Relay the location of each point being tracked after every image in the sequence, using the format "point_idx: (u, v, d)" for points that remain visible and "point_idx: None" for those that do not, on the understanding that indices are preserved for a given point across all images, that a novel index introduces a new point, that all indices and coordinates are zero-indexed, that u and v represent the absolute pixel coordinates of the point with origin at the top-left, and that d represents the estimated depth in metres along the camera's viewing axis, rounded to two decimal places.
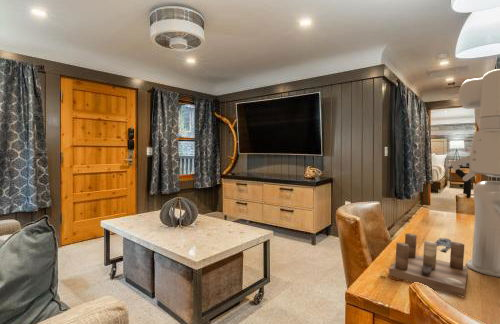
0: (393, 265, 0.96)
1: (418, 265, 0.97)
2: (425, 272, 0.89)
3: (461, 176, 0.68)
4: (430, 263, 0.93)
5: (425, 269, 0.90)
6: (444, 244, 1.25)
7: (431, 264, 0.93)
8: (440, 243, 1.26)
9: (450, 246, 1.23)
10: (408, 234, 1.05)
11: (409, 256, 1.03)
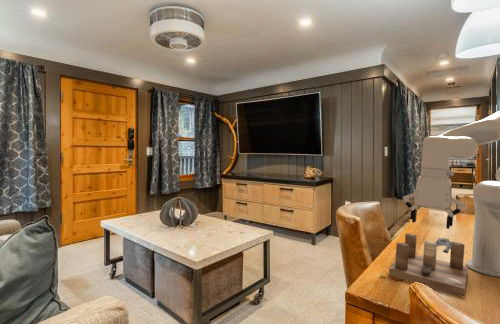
0: (393, 265, 0.96)
1: (418, 265, 0.97)
2: (425, 272, 0.89)
3: (409, 207, 0.97)
4: (430, 263, 0.93)
5: (425, 269, 0.90)
6: (444, 244, 1.25)
7: (431, 264, 0.93)
8: (440, 243, 1.26)
9: (450, 246, 1.23)
10: (408, 234, 1.05)
11: (409, 256, 1.03)
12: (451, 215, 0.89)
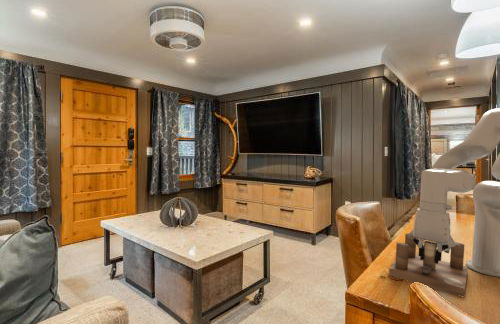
0: (393, 265, 0.96)
1: (418, 265, 0.97)
2: (425, 272, 0.89)
3: (417, 244, 0.96)
4: (430, 263, 0.93)
5: (425, 269, 0.90)
6: None
7: (431, 264, 0.93)
8: None
9: None
10: None
11: (409, 256, 1.03)
12: (440, 251, 0.92)
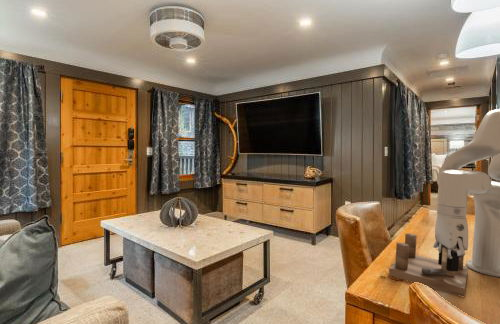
0: (393, 265, 0.96)
1: (418, 265, 0.97)
2: (422, 271, 0.90)
3: None
4: (443, 269, 0.89)
5: (425, 269, 0.90)
6: None
7: (444, 270, 0.89)
8: None
9: None
10: (408, 234, 1.05)
11: (409, 256, 1.03)
12: (449, 257, 0.87)
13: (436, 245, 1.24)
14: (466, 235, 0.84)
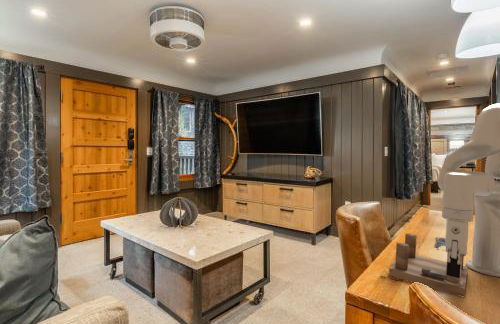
0: (393, 265, 0.96)
1: (418, 265, 0.97)
2: None
3: None
4: None
5: (425, 269, 0.90)
6: (444, 244, 1.26)
7: (446, 274, 0.86)
8: (440, 243, 1.26)
9: None
10: (408, 234, 1.05)
11: (409, 256, 1.03)
12: None
13: (437, 245, 1.24)
14: (462, 239, 0.80)
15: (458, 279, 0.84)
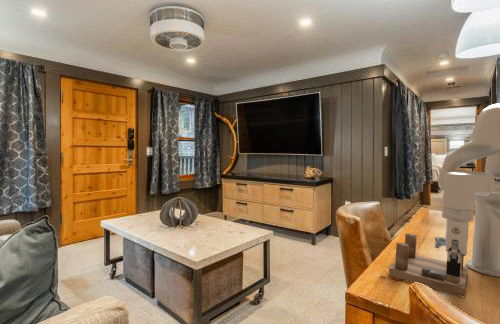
0: (393, 265, 0.96)
1: (418, 265, 0.97)
2: None
3: None
4: None
5: (425, 269, 0.90)
6: (444, 244, 1.26)
7: (446, 274, 0.86)
8: (440, 243, 1.26)
9: None
10: (408, 234, 1.05)
11: (409, 256, 1.03)
12: (448, 260, 0.81)
13: (437, 245, 1.24)
14: (463, 239, 0.80)
15: (458, 279, 0.84)
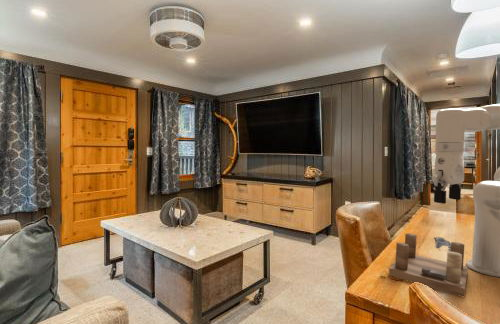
0: (393, 265, 0.96)
1: (418, 265, 0.97)
2: None
3: None
4: (446, 273, 0.86)
5: (425, 269, 0.90)
6: (444, 244, 1.26)
7: (446, 274, 0.86)
8: (441, 243, 1.26)
9: None
10: (408, 234, 1.05)
11: (409, 256, 1.03)
12: None
13: (438, 245, 1.24)
14: (447, 168, 0.87)
15: (458, 279, 0.84)
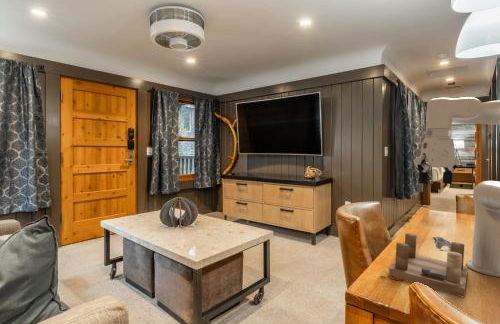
0: (393, 265, 0.96)
1: (418, 265, 0.97)
2: None
3: None
4: (446, 273, 0.86)
5: (425, 269, 0.90)
6: (444, 244, 1.26)
7: (446, 274, 0.86)
8: (441, 243, 1.26)
9: None
10: (408, 234, 1.05)
11: (409, 256, 1.03)
12: None
13: (438, 245, 1.23)
14: (428, 152, 0.96)
15: (458, 279, 0.84)
